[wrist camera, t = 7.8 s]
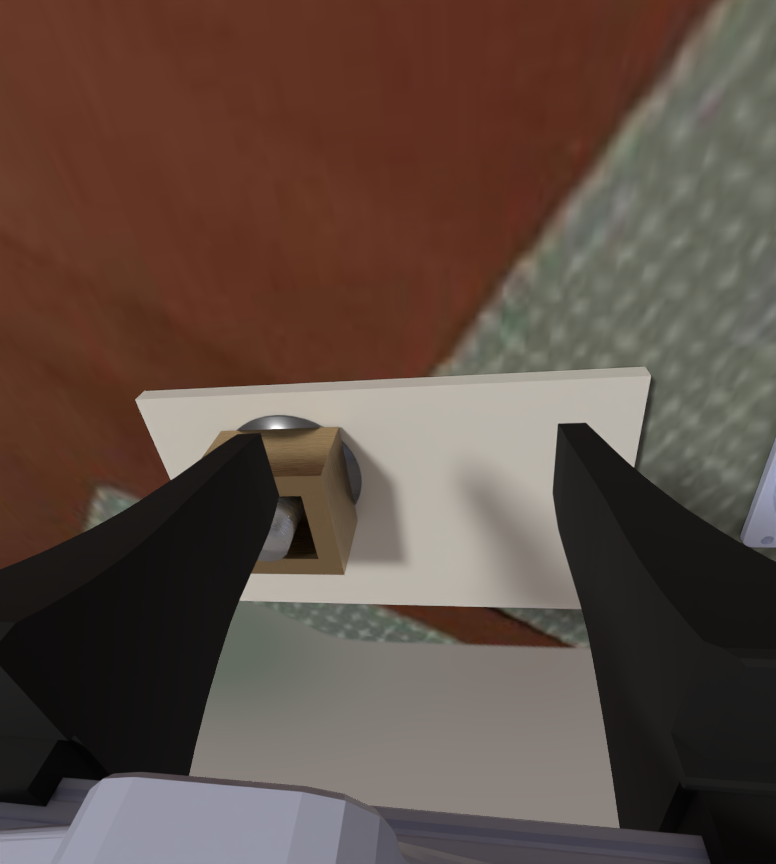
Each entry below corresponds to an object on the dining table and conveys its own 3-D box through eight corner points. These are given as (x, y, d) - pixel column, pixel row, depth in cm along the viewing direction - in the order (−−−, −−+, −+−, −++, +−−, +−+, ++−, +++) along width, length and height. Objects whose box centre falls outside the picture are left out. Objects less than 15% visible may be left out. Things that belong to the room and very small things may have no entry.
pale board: (644, 366, 20) (651, 375, 19) (604, 597, 28) (607, 609, 27) (144, 391, 24) (135, 399, 23) (229, 589, 31) (224, 600, 30)
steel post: (349, 412, 22) (327, 476, 18) (370, 526, 26) (355, 599, 22) (205, 417, 23) (156, 479, 19) (245, 526, 27) (210, 595, 23)
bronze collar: (338, 426, 22) (320, 475, 19) (357, 520, 25) (344, 574, 22) (220, 430, 23) (186, 478, 20) (252, 520, 26) (227, 573, 23)
